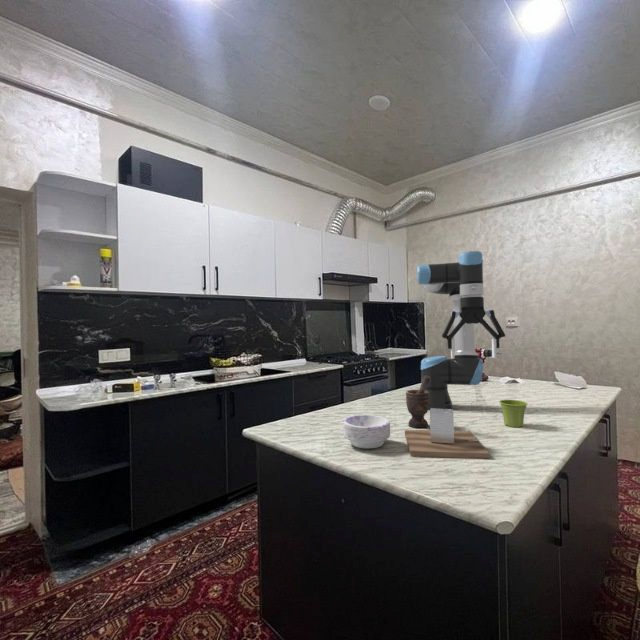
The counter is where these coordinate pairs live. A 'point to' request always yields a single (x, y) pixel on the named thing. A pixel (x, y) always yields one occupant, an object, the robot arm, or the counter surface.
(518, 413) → the plant pot
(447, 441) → the grey block with bar
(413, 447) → the board
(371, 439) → the paper bowls
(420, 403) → the mortar and pestle
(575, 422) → the counter surface
